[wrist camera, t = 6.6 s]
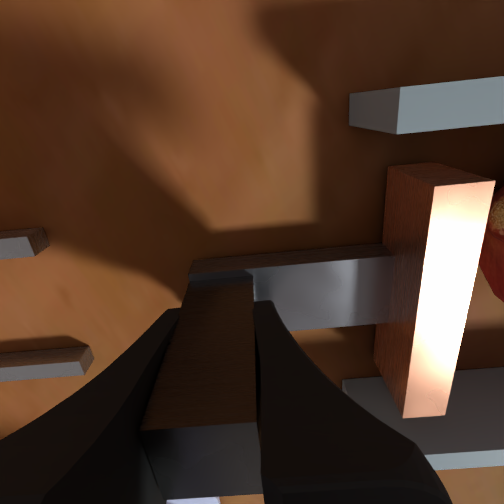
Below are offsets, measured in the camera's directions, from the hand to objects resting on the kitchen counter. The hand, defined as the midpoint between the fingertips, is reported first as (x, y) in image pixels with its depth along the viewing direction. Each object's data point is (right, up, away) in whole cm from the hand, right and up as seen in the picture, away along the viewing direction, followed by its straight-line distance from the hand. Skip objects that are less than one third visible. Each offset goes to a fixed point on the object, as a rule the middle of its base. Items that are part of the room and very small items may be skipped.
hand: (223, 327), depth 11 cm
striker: (+3, +1, +2) cm, 4 cm away
